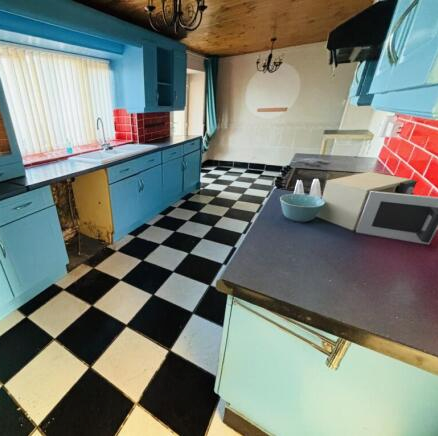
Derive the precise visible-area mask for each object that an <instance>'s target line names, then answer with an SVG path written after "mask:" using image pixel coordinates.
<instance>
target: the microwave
mask: <svg viewBox="0 0 438 436" xmlns="http://www.w3.org/2000/svg"><path fill="white" fill-rule="evenodd" d="M417 183H418V180H414V179H412V178H406V177H400V176H396V175H389V174H384V173H379V172H373V171H367V172H363V173H357V174H352V175H347V176H341V177H338V178H331V179H328V180H326V181H325V187H324V189H323V193H322V195H321V199H322V200H323V201H324V202H325V204H324V206H323V207H322V208H321V210H320V211H319V212H318V214H317V215H316V217H317V218H319V219H322V220H324V221H327V222H330V223H331V224H335V225H337V226H340V227H342V228H345V229H348V230H351V231H356V229H357V226H358V223H359V220H360V217H361V215H362V212H363V209H364V206H365V204H366V201H367V198H368V195H369V193H370V191H378V192H389V193H399V194H410V195H413V193H414V191H415V187H416V185H417Z"/></svg>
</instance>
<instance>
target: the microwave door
mask: <svg viewBox="0 0 438 436" xmlns="http://www.w3.org/2000/svg"><path fill="white" fill-rule="evenodd" d="M437 230H438V196H429V195H419V194H411V195H410V194H399V193H389V192H378V191H370V193H369V195H368V198H367V201H366V204H365V206H364V209H363V212H362V215H361V217H360V220H359V223H358V226H357V229H356V230H355V232H356V233H357V234H363V235H364V234H365V235H370V236H377V237H381V238H387V239H393V240H399V241H405V242H412V243H418V244H421V245H422V244H423V245H430V244H431V242H432V240H433V238H434V236H435V234H436V232H437Z"/></svg>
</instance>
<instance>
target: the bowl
mask: <svg viewBox="0 0 438 436" xmlns="http://www.w3.org/2000/svg"><path fill="white" fill-rule="evenodd" d="M304 194H305V193H304ZM304 194H294V193H289V194H284V195H281V196H280V197H279V201H280V205H281V210H282V215H284V217H286V218H287V219H288V220H290V221H292V222H298V223H307V222H311V221H312V220H313V219H315V218H316V217H317V215H318V212H319V211H320V210H321V208H322V207H323V206H324V204H325V202H324V201H323V200H322V198H321V197H320V198H318V197H314V196H310V195H309V194H305V195H304Z"/></svg>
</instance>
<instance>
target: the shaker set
mask: <svg viewBox="0 0 438 436" xmlns="http://www.w3.org/2000/svg"><path fill="white" fill-rule="evenodd" d="M304 189H305V188H304V184H303V181H302V179H300V180H299V179H297V180H296V183H295V187H294V191H293V194H304V195H306V194H305V190H304ZM321 191H322V190H321V182H320V180H319V179H318V178H314V179H313V180H312V183H311V184H310V190H309V194H308V195H310V196H314V197H318V198H320V199H321V198H322V192H321Z"/></svg>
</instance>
